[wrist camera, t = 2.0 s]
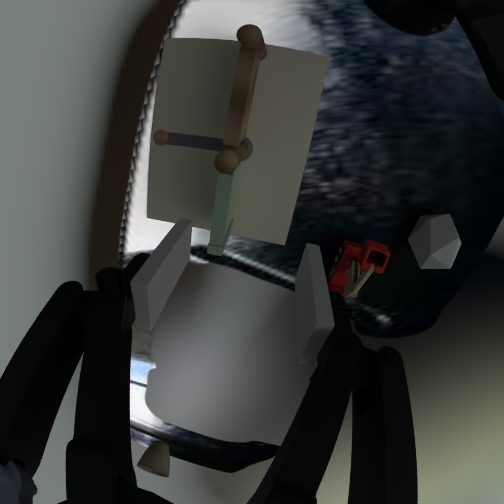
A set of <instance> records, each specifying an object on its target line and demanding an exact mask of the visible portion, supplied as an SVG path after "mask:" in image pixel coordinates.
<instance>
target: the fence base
mask: <svg viewBox="0 0 504 504" xmlns="http://www.w3.org/2000/svg"><path fill="white" fill-rule="evenodd" d="M237 39H238V41H239V42H240V44H241V45H242V47H240V51H239V56H238V61H237V66H236V71H235V76H234V81H233V87H232V92H231V98H230V103H229V109H228V115H227V121H226V127H225V133H224V139H223V144H224V145H229V146H227V147H226V148H225V149H223V150H222V151H221V152H219V153H218V154H217V155H216V156H215V159H214V165H215V167H216V169H217V170H218V171H219V172H221V173H225V174H228V173H231V172H233V171H234V170H235V169H236V167H237V166H238V165H239V163H240V162H241V161H242V159H243V158H244V157H245V155H246V154H247V152H248V149H249V148H248V144H247V143H246V142H245V141H243V140H244V139H245V138H246V132H247V127H248V121H249V116H250V110H251V105H252V100H253V95H254V89H255V84H256V79H257V74H258V69H259V64H260V60H263V59H264V58H265V57H266V55H267V50H266V46H265V43H264V39H263V36H262V32H261V30H260V29H259V28H258V27H257V26H255V25H252V24H248V25H244V26H242V27H240V28H239V29H238V31H237Z"/></svg>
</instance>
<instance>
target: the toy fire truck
mask: <svg viewBox="0 0 504 504" xmlns="http://www.w3.org/2000/svg"><path fill="white" fill-rule="evenodd" d="M343 245H344V246H341V247H340V249H339V255H337V256H336V258H335V263H334V265H333V267H332V269H331V271H330V273H329V275H328V278H326V281H327V286H328V291H333V292H339V293H340V294H341V295H342V296H343V298H344V299H345V300H346V299H347V297H348V298H354V297H356V296H357V294H358V290H359V289H360V288H361V286H362V285H363V284H364V283H365V281H366V280H367V279H368V277H369V276H370V275H371V273H372V272H373V271H374V272H376V273H380V274H382V273H383V271H384V269H385V267H386V264H387V262H388V259H389V257H390V251H389V249H388V247H387V246H385V245H383V244H379V243H376V242H374V241H371V240H368V239H367V240H366V242H365V244H364V245H362V244H359V243H356V242H353V241H350V240H346V239H345V240H344V243H343ZM340 255H341V256H340ZM363 268H364V269H365V270H364V271H363V273H362V274H361V275H360V277H359V273H360V272H361V271H362V270H363Z"/></svg>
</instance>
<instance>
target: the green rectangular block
mask: <svg viewBox="0 0 504 504" xmlns="http://www.w3.org/2000/svg"><path fill="white" fill-rule="evenodd" d="M240 166H241V162H240V163H239V165H238V166H237V167H236V169H235V170H234V171H233V172H231V173H228V174H225V173H221V172H219V173H218V179H217V186H216V194H215V201H214V209H213V217H212V225H211V234H210V242H209V244H208V250H207V253H209V254H214V255H219V256H222V254H223V251H224V249H225V246H226V243H227V241H228V238H229V236H230V233H231V230H232V228H233V223H234V220H233V219H232V214H233V208H234V202H235V196H236V190H237V184H238V178H239V172H240Z"/></svg>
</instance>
